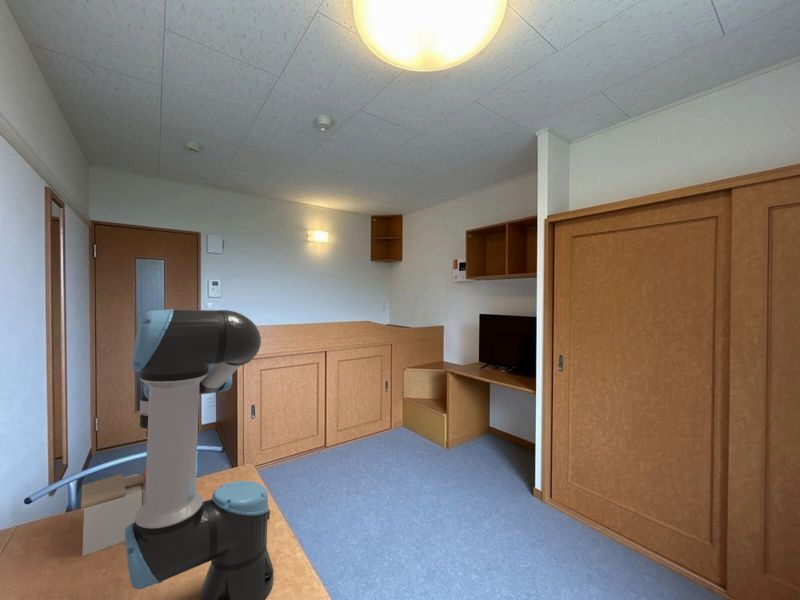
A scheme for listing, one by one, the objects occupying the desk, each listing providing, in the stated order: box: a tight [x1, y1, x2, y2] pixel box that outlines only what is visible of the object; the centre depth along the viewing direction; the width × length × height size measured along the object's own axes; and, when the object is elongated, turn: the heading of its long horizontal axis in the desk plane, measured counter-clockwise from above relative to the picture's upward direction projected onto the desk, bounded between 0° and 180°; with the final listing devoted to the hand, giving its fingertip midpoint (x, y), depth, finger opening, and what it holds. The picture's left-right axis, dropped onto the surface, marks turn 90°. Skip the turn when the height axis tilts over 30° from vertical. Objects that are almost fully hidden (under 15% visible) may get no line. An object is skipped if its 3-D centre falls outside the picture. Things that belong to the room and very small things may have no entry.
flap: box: [80, 469, 146, 509], centre depth 98 cm, size 13×18×2 cm
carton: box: [82, 473, 146, 557], centre depth 97 cm, size 14×13×12 cm
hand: (153, 487), depth 103 cm, fingers closed on flap, 6 cm apart
